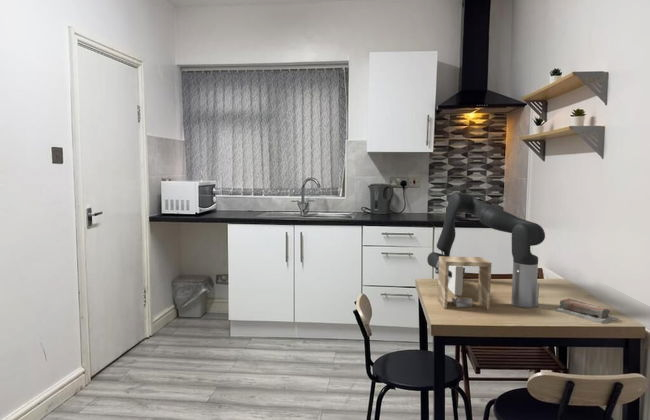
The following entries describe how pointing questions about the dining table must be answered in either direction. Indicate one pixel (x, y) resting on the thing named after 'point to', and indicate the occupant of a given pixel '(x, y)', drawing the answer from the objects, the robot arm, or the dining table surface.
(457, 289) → the white box
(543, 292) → the dining table surface
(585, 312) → the packaged product
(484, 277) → the wooden arch
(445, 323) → the dining table surface
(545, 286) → the dining table surface
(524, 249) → the robot arm
